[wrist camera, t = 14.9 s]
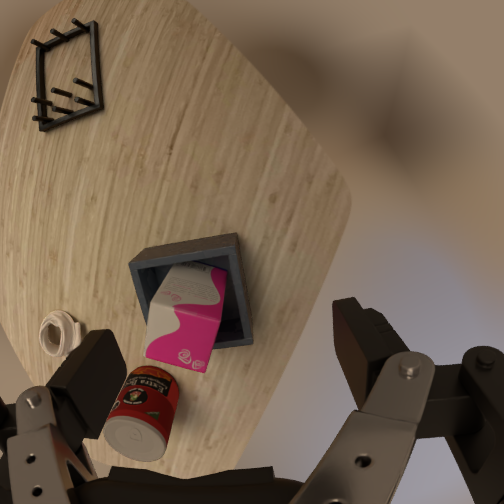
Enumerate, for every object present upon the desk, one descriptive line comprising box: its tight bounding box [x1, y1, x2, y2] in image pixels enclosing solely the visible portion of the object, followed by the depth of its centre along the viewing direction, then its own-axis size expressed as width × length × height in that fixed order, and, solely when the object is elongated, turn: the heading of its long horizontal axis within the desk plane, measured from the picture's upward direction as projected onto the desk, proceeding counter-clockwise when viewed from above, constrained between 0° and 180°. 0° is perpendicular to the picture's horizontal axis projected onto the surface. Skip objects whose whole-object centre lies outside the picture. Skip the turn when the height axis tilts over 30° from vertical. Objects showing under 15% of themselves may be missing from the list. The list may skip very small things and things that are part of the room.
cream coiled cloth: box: [39, 310, 81, 357], centre depth 36 cm, size 8×7×5 cm
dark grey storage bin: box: [128, 233, 253, 350], centre depth 33 cm, size 11×11×6 cm
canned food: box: [103, 366, 179, 462], centre depth 35 cm, size 8×8×11 cm
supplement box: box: [143, 260, 228, 373], centre depth 30 cm, size 6×6×12 cm
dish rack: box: [31, 18, 104, 132], centre depth 27 cm, size 12×9×4 cm
